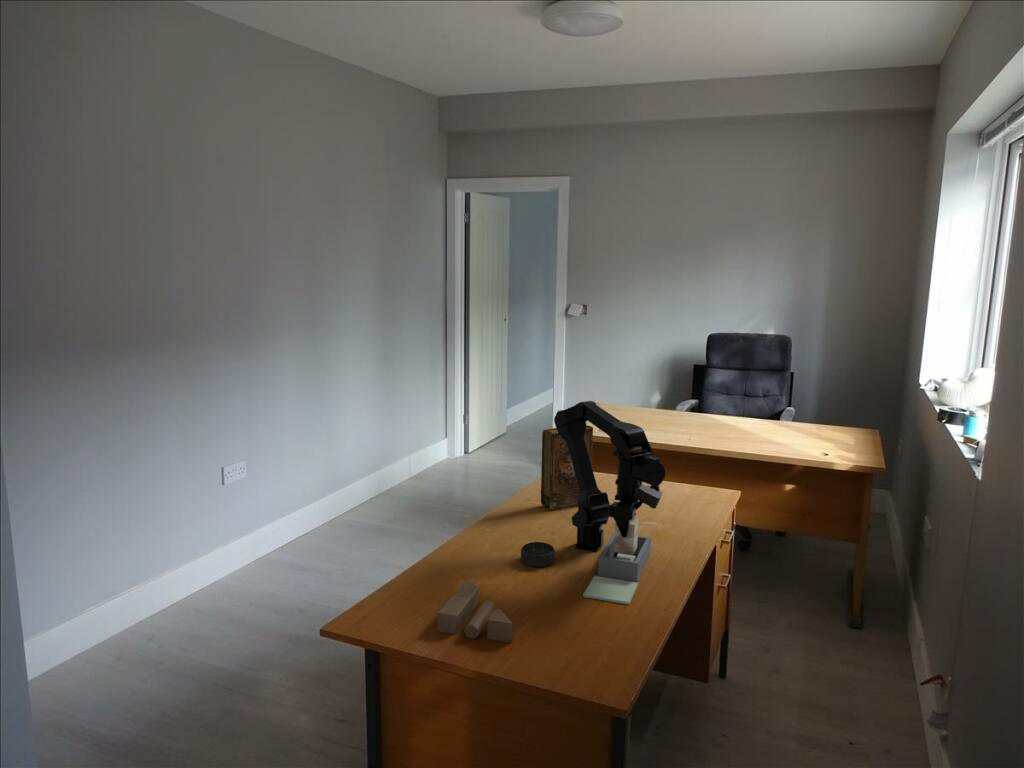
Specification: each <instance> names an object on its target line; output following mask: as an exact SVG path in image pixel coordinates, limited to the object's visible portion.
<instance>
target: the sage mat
mask: <svg viewBox="0 0 1024 768" xmlns="http://www.w3.org/2000/svg"><path fill="white" fill-rule="evenodd" d="M638 586H639V582H632V581H626V580H620V579H614V578H608V577H601V576H598V575H594V576H593V577H592V579H591V581H590V582H589V585H588V586H587V587H586V589H585V590H584V592H583V593H582V594H583V595H582V597H583V598H586V599H587V598H588V599H595V600H601V601H604V602H605V601H606V602H612V603H615V604H616V603H617V604H623V605H630V603H631V601H632V599H633V597H634V595H635V593H636V591H637V588H638Z"/></svg>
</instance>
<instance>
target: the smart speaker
mask: <svg viewBox="0 0 1024 768" xmlns="http://www.w3.org/2000/svg"><path fill="white" fill-rule="evenodd" d="M555 551H556V550H555V548H554V547H553V545H551V544H549V543H547V542H542V541H534V542H528V543H526V544H524V545H523V546H522V547H521V550H520V560H521V562H522V563H523V564H525V565H527V566H528V567H533V568H544V567H548V566H551V565H552V564H553V563H554V562H555V560H556V557H555V556H556V552H555Z"/></svg>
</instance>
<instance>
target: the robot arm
mask: <svg viewBox="0 0 1024 768" xmlns="http://www.w3.org/2000/svg"><path fill="white" fill-rule="evenodd" d="M553 419H554V420H553V423H554V426H555V428H557V431H558V433H559V435H560V436H561V437H562V438H563V439H564V440H565V441H566V442H567V445H568V449H569V453H570V456H571V460H572V464H573V468H574V471H575V475H576V479H577V483H578V486H579V490H580V495H579V499H578V503H577V505H578V506H577V511H576V512H575V513H574V514H573V515H571V522H572V523H571V524H572V526H574V527H576V531H577V532H576V544H575V545H574V548H576V549H581V550H587V551H593V552H598V551H599V549H600V548H601V547H602V546H603V545H604V537H605V536H604V534H605V533H604V529H602V527H603V525H607V523H608V521H609V518H613V520H614V522H616V524H617V526H618V529H619V531H620V533H621V535H622V537H626V536H627V532H628V528H629V523H630V520H631V519H633V518H636V517H635V516H636V515H637V510H638V509H640V507H642V505H643V504H645V505H647V506H649V508H651V509H653V510H655V509H656V508H657V507H658V505H659V503H660V501H661V498H662V496H663V493H662V492H663V491H661V489H660V488H661V487H660V485H661V484H662V482H664V479H665V477H666V470H665V466H663V464H661V460H660V458H659V457H657V456H655V457H653V455H654V451H653V449H652V446H651V445H650V442H649V440H648V438H647V435H646V432H645V430H644V429H643V428H642V427H641V426H639V425H637V424H634V423H632V422H631V423H630V422H625V421H621V420H620V419H618V418H616V417H615V416H614V415H612V414H611V413H609V412H608V411H606V410H605V409H604V408H602V407H600V406H599V405H598V404H597V403H596V402H595V401H593V400H588V401H579V402H578V403H576V404H575V405H573V406H571V407H568V408H565V409H562V410H557V412H556V413H555V415H554V418H553ZM587 422H589V423H590V424H591V425H593V426H594V427H596V429H597V428H598V429H599V430H600V431H602V432H603V433H604V434H606V435H607V436H608V437H609V439H610V443H611V444H612V445H613V446H614V447H615V448H616V450H614V451H613V452H612V456H615V457H617V472H616V473H617V475H616V477H617V478H616V479H615V481H614V482H615V483H614V484H615V485H616V494H615V495H614V500H615V501H614V502H612V503H611V504H610V500H609V496H608V494H607V492H605V491H604V492H602V491H601V490H600V489H599V487H598V484H597V482H596V477H595V473H594V470H593V464H592V465H591V462H590V458H589V454H588V451H587V447H586V443H585V440H584V436H585V432H586V428H587V426H586V425H587ZM643 483H645V484H648V485H645V484H643Z"/></svg>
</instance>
